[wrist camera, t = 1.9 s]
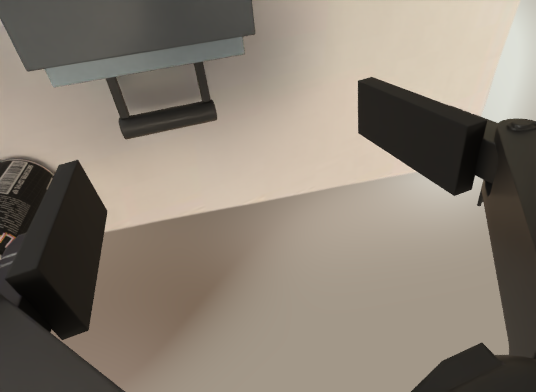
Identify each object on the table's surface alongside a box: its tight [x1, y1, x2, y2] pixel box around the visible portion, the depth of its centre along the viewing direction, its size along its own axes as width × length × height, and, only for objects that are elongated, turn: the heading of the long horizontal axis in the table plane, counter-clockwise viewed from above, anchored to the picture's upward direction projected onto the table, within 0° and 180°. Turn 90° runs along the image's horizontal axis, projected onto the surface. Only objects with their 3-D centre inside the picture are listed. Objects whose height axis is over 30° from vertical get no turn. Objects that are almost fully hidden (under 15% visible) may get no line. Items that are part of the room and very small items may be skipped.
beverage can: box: [0, 159, 54, 260], centre depth 25 cm, size 6×6×12 cm
